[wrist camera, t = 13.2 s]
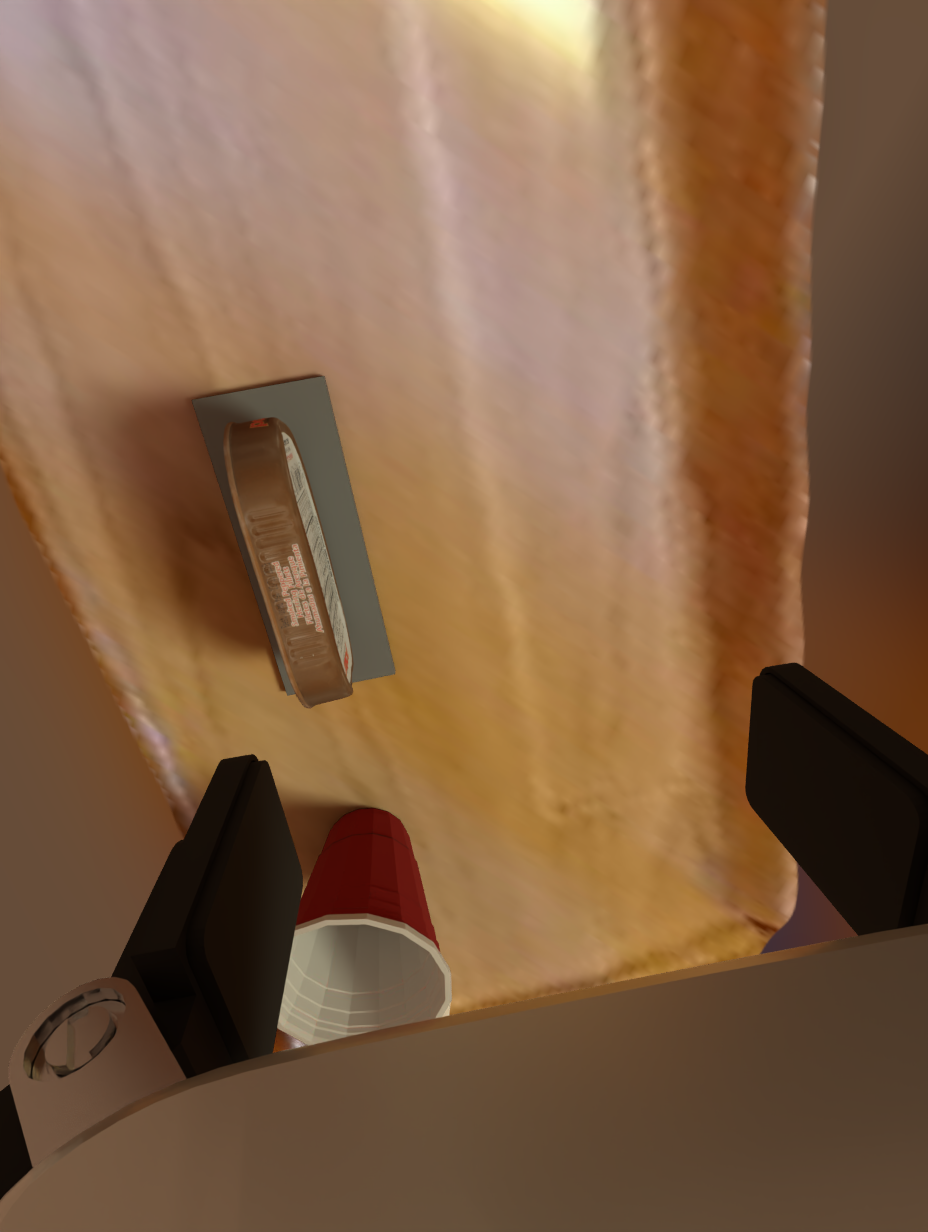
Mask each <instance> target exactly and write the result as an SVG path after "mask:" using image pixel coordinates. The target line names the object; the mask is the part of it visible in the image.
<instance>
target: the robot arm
mask: <svg viewBox="0 0 928 1232" xmlns="http://www.w3.org/2000/svg"><path fill="white" fill-rule="evenodd" d="M745 789H746V796H747V799H748V801H749V803H750V805H751V807H752V808H753V810H754V811H755V812H756V813H757V814H758V816H759V817H760V818H761V819H762V820H763V822H764V823H765V824H766V825H767V826H768V828H769V829H770V830H771V831H772V832H773V834H774V835H775V836H776V837H777V838H778V840H779V841H780V842H781V843H782V844H783V846H784V847H785V848H786V849H787V850H788V852H789V853H790V854H791V855H792V856H793V858H794V859H795V860H796V861H797V862H798V864H799V865H800V866H801V867H802V868H803V870H804V871H805V872H806V873H807V875H808V876H809V877H810V878H811V879H812V880H813V882H814V883H815V884H816V885H817V886H818V888H819V889H820V890H821V891H822V893H823V894H824V895H825V896H826V897H827V899H828V900H829V901H830V902H831V903H832V905H833V906H834V907H835V908H836V909H837V911H838V912H839V913H840V914H841V915H842V917H843V918H844V919H845V920H846V921H847V923H848V924H849V925H850V926H851V927H852V929H853V930H854V931H855V932H856V933H857V935H858V936H856V937H850V938H845V939H839V940H834V941H829V942H823V943H818V944H813V945H808V946H802V947H797V948H792V949H786V950H781V951H776V952H771V953H765V954H760V955H755V956H749V957H744V958H739V959H733V960H728V961H723V962H718V963H713V964H708V965H702V966H697V967H692V968H687V969H682V970H677V971H672V972H666V973H661V974H656V975H651V976H646V977H641V978H636V979H630V980H625V981H620V982H615V983H610V984H605V985H600V986H595V987H590V988H585V989H579V990H574V991H569V992H564V993H559V994H554V995H549V996H544V997H539V998H534V999H529V1000H524V1001H519V1002H514V1003H509V1004H504V1005H499V1006H494V1007H489V1008H484V1009H479V1010H474V1011H469V1012H464V1013H459V1014H454V1015H449V1016H445V1017H440V1018H435V1019H430V1020H425V1021H420V1022H415V1023H410V1024H405V1025H400V1026H395V1027H390V1028H385V1029H380V1030H376V1031H371V1032H366V1033H362V1034H357V1035H353V1036H348V1037H344V1038H339V1039H335V1040H330V1041H326V1042H321V1043H316V1044H312V1045H307V1046H303V1047H298V1048H294V1049H289V1050H285V1051H280V1052H276V1053H273V1048H274V1042H275V1037H276V1031H277V1026H278V1020H279V1015H280V1009H281V1004H282V998H283V993H284V988H285V982H286V977H287V971H288V966H289V960H290V955H291V949H292V944H293V938H294V933H295V927H296V922H297V916H298V911H299V905H300V900H301V894H302V888H303V876H302V870H301V866H300V863H299V860H298V856H297V853H296V850H295V847H294V843H293V840H292V837H291V834H290V831H289V827H288V824H287V821H286V818H285V815H284V811H283V808H282V805H281V802H280V798H279V795H278V792H277V789H276V786H275V782H274V779H273V776H272V773H271V770H270V767H269V764H268V762H267V761H266V760H263V761H258V759H257V757H256V756H255V755H253V754H251V755H245V756H239V757H234V758H228V759H223V760H221V761H220V763H219V764H218V766H217V769H216V771H215V773H214V775H213V777H212V780H211V782H210V784H209V786H208V788H207V790H206V793H205V795H204V797H203V799H202V801H201V803H200V806H199V808H198V810H197V812H196V814H195V816H194V819H193V821H192V823H191V825H190V827H189V830H188V832H187V834H186V836H185V838H184V840H181V841H179V842H178V843H176V844H175V846H174V847H173V849H172V850H171V852H170V855H169V856H168V859H167V861H166V863H165V865H164V867H163V869H162V871H161V874H160V876H159V877H158V880H157V882H156V884H155V886H154V888H153V890H152V892H151V894H150V897H149V899H148V901H147V903H146V905H145V907H144V909H143V911H142V913H141V915H140V917H139V920H138V922H137V924H136V926H135V928H134V930H133V932H132V934H131V936H130V939H129V941H128V943H127V945H126V947H125V949H124V951H123V953H122V955H121V957H120V959H119V962H118V964H117V966H116V968H115V970H114V972H113V974H112V976H111V977H108V978H100V979H96V980H93V981H91V982H88V983H85V984H83V985H80V986H78V987H76V988H75V989H73V990H71V991H70V992H68V993H66V994H64V995H63V996H61V997H60V998H58V999H57V1000H56V1001H55V1002H53V1003H52V1004H51V1005H50V1006H49V1007H47V1008H46V1009H45V1010H44V1011H42V1013H41V1014H40V1015H39V1016H38V1017H37V1018H36V1019H35V1020H34V1021H33V1022H32V1023H31V1025H30V1026H29V1027H28V1028H27V1029H26V1031H25V1032H24V1034H23V1035H22V1037H21V1039H20V1040H19V1042H18V1043H17V1045H16V1046H15V1049H14V1051H13V1054H12V1057H11V1060H10V1063H9V1083H10V1084H9V1085H8V1086H7V1087H5V1088H4V1089H3V1090H2V1091H0V1232H928V755H927V754H926V753H924V752H923V751H922V750H920V749H919V748H917V747H916V746H915V745H913V744H912V743H910V742H909V741H907V740H906V739H905V738H903V737H902V736H900V735H899V734H897V733H896V732H895V731H893V730H892V729H891V728H889V727H888V726H886V725H885V724H883V723H882V722H880V721H879V720H878V719H876V718H875V717H874V716H872V715H871V714H869V713H868V712H866V711H865V710H864V709H862V708H861V707H859V706H858V705H857V704H855V703H854V702H852V701H851V700H849V699H848V698H847V697H845V696H844V695H842V694H841V693H839V692H838V691H837V690H835V689H834V688H832V687H831V686H830V685H828V684H827V683H825V682H824V681H823V680H821V679H820V678H818V677H817V676H815V675H814V674H813V673H811V672H810V671H808V670H807V669H805V668H804V667H803V666H801V665H800V664H798V663H788V664H782V665H776V666H770V667H765V668H764V669H762V671H761V673H760V676H757V677H755V679H754V680H753V686H752V700H751V715H750V729H749V743H748V757H747V772H746V786H745Z"/></svg>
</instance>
